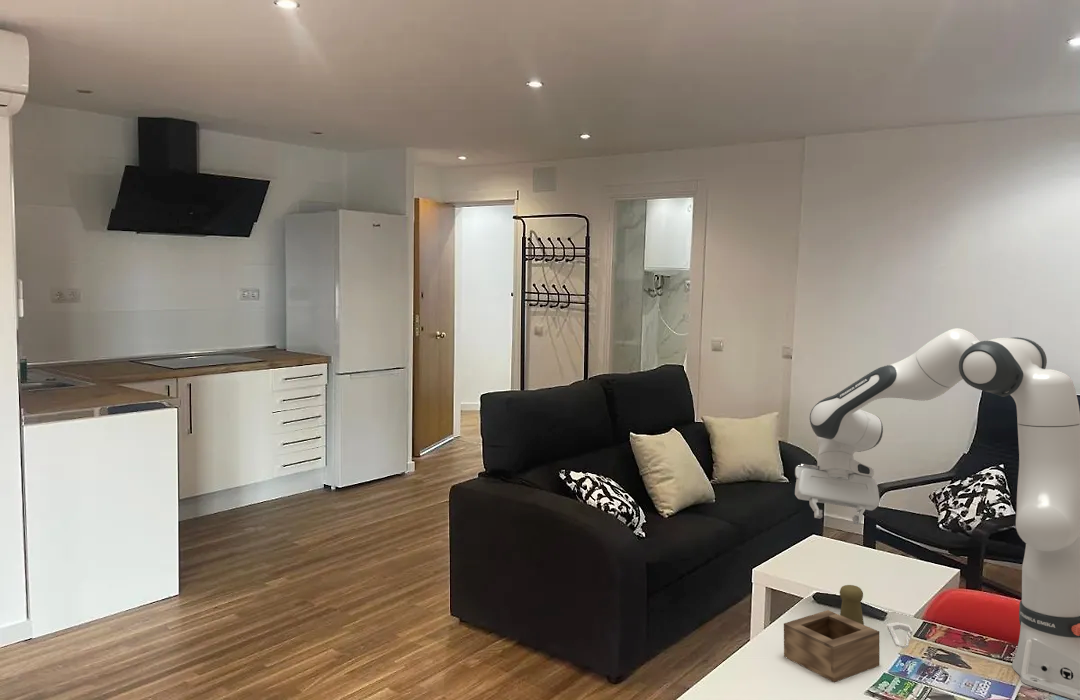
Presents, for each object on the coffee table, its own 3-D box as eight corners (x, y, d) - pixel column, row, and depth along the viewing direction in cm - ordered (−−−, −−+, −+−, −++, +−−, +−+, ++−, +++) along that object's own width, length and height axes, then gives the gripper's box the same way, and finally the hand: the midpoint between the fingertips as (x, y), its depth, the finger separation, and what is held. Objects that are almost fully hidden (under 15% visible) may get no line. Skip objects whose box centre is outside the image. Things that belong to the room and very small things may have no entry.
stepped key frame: (920, 653, 180) (920, 646, 180) (896, 652, 181) (896, 644, 181) (907, 626, 192) (907, 620, 192) (885, 625, 193) (885, 618, 193)
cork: (869, 636, 187) (869, 591, 186) (843, 637, 187) (843, 591, 186) (859, 626, 193) (859, 581, 192) (834, 626, 193) (834, 582, 192)
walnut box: (879, 665, 172) (879, 631, 172) (834, 682, 166) (833, 646, 165) (828, 641, 185) (828, 610, 184) (784, 656, 178) (783, 623, 177)
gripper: (798, 457, 201) (799, 509, 194) (880, 470, 200) (883, 523, 193) (791, 467, 207) (791, 518, 200) (870, 479, 206) (873, 531, 199)
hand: (837, 520), depth 196 cm, fingers open, 8 cm apart
